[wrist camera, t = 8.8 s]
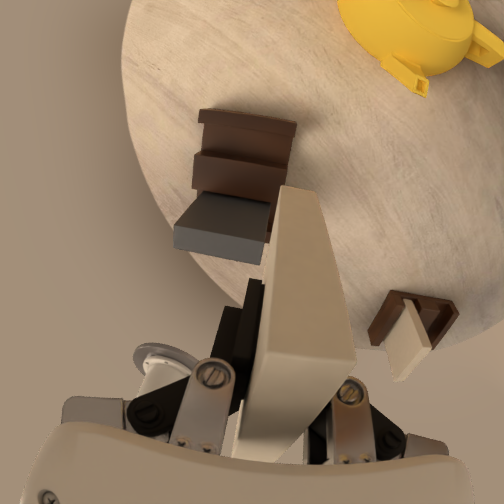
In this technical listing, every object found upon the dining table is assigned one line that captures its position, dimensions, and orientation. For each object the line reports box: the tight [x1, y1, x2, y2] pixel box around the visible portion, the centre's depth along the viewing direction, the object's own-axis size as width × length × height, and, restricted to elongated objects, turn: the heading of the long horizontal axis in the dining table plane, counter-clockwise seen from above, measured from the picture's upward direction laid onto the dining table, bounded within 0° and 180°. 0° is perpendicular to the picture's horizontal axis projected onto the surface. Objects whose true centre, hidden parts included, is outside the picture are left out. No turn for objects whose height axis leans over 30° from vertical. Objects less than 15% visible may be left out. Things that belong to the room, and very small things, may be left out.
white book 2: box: [383, 299, 432, 382], centre depth 34 cm, size 8×2×10 cm, turn 171°
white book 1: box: [231, 185, 357, 463], centre depth 11 cm, size 2×8×10 cm, turn 172°
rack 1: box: [192, 108, 297, 243], centre depth 30 cm, size 14×10×4 cm
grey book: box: [173, 191, 271, 265], centre depth 28 cm, size 2×8×10 cm, turn 81°
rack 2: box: [368, 290, 459, 350], centre depth 38 cm, size 9×14×4 cm, turn 81°
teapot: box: [337, 0, 504, 98], centre depth 13 cm, size 17×17×12 cm
